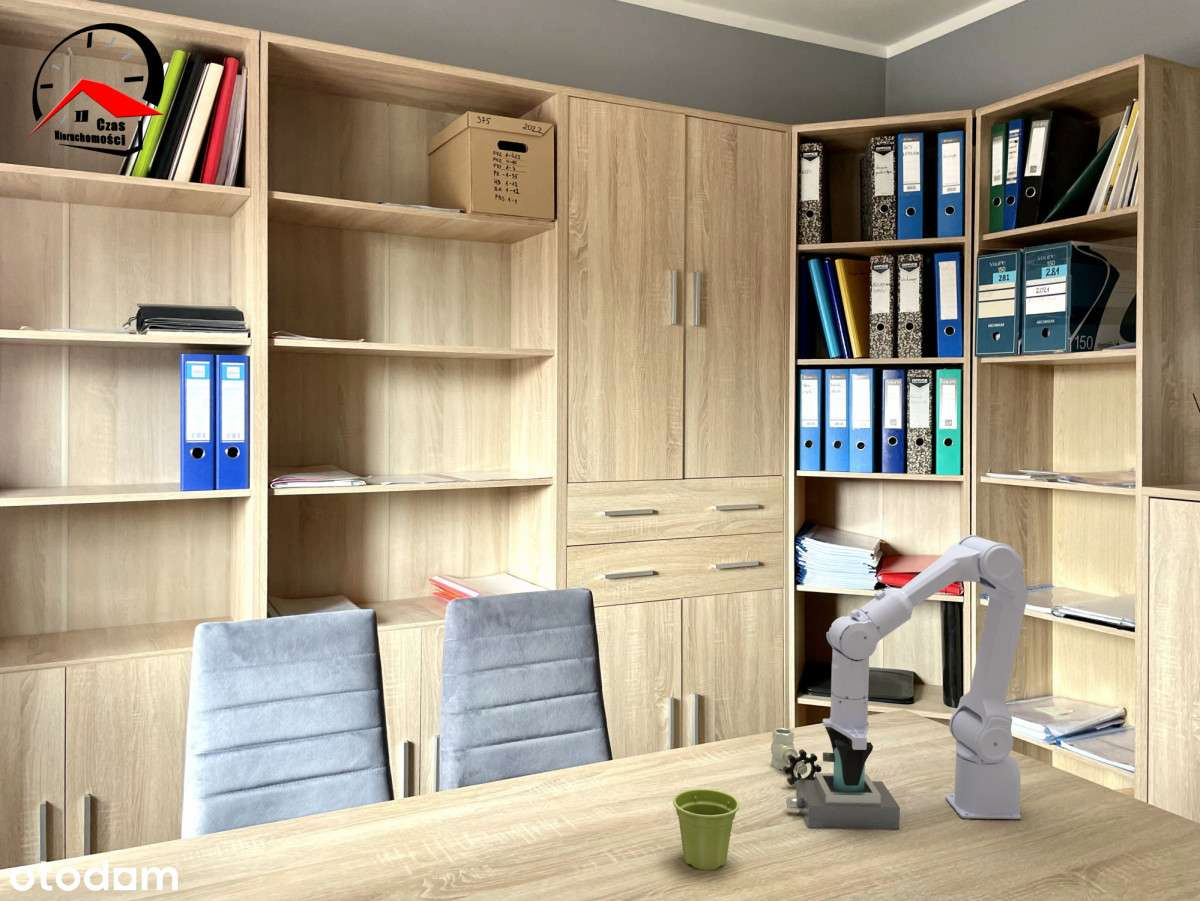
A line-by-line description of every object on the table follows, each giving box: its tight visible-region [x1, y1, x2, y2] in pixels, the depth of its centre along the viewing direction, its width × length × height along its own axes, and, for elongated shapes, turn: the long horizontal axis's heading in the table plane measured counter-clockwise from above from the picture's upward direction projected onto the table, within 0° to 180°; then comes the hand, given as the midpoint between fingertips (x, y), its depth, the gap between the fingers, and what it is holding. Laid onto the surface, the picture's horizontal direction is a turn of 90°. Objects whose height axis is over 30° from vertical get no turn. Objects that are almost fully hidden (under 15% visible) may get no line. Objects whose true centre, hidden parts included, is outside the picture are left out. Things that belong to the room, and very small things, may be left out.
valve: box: [770, 727, 823, 786], centre depth 172 cm, size 7×7×12 cm
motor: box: [785, 772, 901, 830], centre depth 156 cm, size 16×10×5 cm, turn 89°
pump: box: [822, 747, 866, 793], centre depth 156 cm, size 6×5×6 cm
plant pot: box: [672, 788, 740, 871], centre depth 140 cm, size 9×9×9 cm
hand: (847, 777), depth 156 cm, fingers closed on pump, 5 cm apart
